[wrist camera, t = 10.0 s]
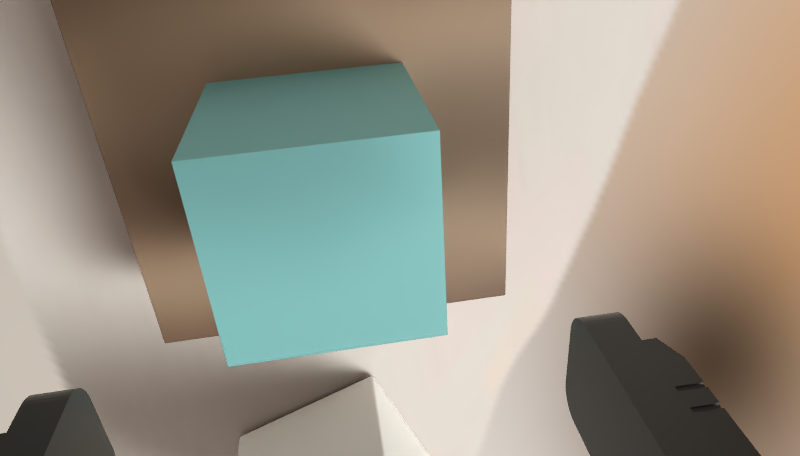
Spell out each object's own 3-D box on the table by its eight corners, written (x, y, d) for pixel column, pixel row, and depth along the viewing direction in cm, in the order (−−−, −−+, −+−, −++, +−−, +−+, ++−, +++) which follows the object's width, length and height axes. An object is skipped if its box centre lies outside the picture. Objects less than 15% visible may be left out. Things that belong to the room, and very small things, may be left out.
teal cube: (206, 83, 17) (171, 161, 12) (402, 62, 18) (439, 130, 13) (244, 250, 20) (227, 366, 15) (413, 228, 20) (447, 334, 16)
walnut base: (87, -49, 19) (39, -32, 15) (475, -83, 20) (513, -74, 16) (183, 278, 25) (164, 343, 21) (477, 239, 26) (505, 294, 22)
